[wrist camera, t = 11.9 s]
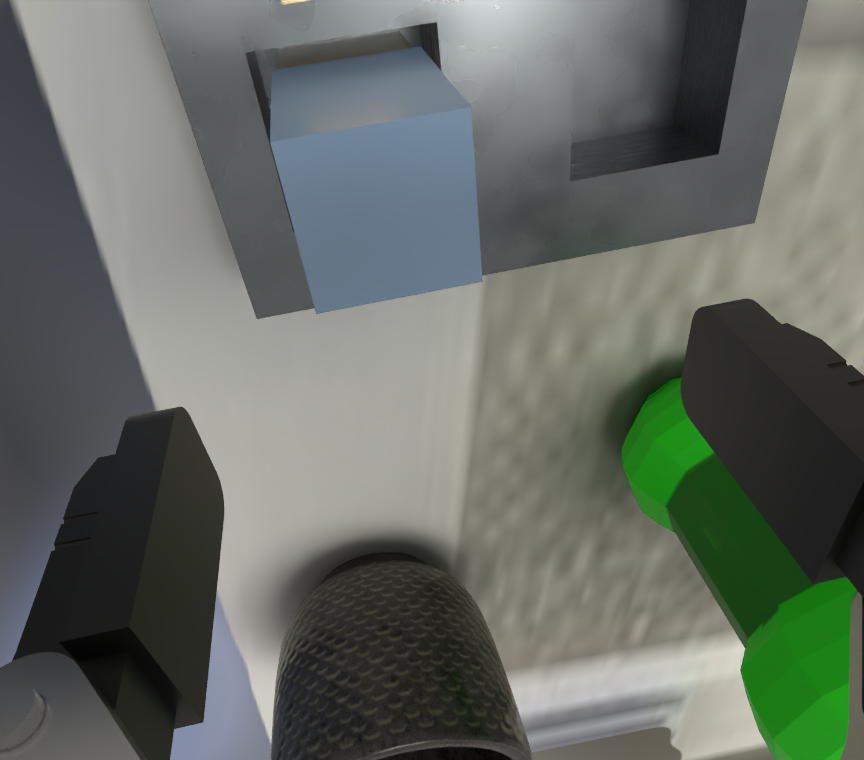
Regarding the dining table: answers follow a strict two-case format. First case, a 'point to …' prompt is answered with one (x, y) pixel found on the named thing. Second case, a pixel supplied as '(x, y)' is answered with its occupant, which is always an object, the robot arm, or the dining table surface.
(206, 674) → the robot arm
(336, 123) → the plug
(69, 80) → the dining table surface
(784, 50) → the panel
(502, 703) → the planter
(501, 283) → the dining table surface
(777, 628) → the plastic bottle
